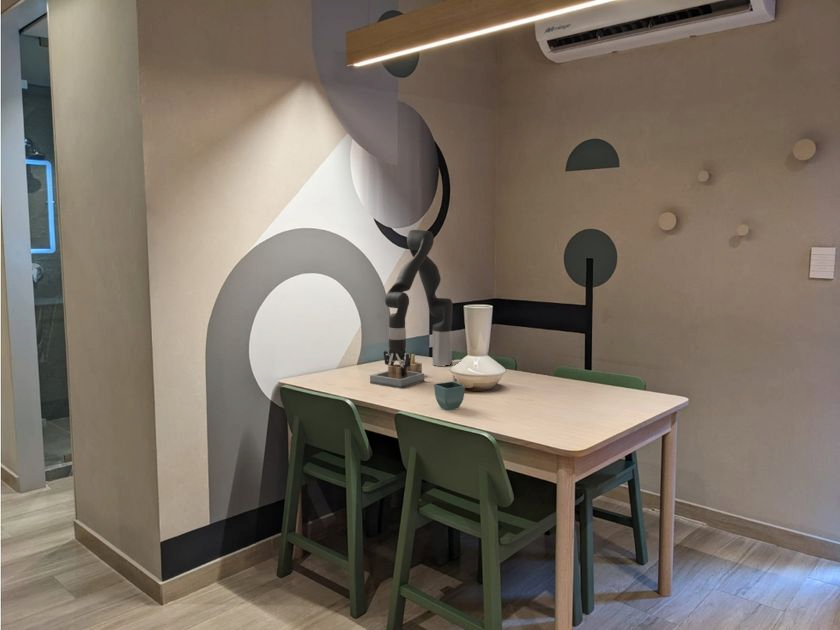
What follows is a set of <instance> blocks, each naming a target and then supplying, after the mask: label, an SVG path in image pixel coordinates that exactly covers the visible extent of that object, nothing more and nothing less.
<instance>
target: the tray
mask: <svg viewBox="0 0 840 630" xmlns="http://www.w3.org/2000/svg"><path fill="white" fill-rule="evenodd" d="M407 372H408V377H406V378H403V379H396V378H390V377H388V370H386V371H385V370H384V371H382V372H378V373H374V374H370V376H369V383H370V384H373V385H378V384H379V385H378V386H385V387H391V388H397V389H403V387H404V388H407V387H411V386H414V385H416V383H417V384H420V383H424V382H425V373H424V372H422V373H418V372H411V371H407ZM423 381H424V382H423ZM419 382H420V383H419ZM413 384H414V385H413ZM406 386H407V387H406Z"/></svg>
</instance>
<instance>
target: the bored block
mask: <svg viewBox="0 0 840 630" xmlns="http://www.w3.org/2000/svg"><path fill="white" fill-rule="evenodd" d="M387 371H388V377H390V378H396V379H403V378H406V377H408V372H407V368H406V375H405V376H404V377H402V376H401V365H400V364H399V363H394V365H391V366H388V365H387Z"/></svg>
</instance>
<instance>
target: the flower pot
mask: <svg viewBox="0 0 840 630" xmlns="http://www.w3.org/2000/svg"><path fill="white" fill-rule="evenodd" d="M433 388H434V396H435V400H436V402H437V404H438V406H439V407H440V408H442V409H444V410H446V411H450V410H451V411H452V410H457V409H456V408H458V409H459V408H460V406H461V405H462V403H463V402H464V401H463V400H464V397H465V391H466V389H465V386H464V385H461V384H459V383H456V382H453V381H448V382H439V383H433Z"/></svg>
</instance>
